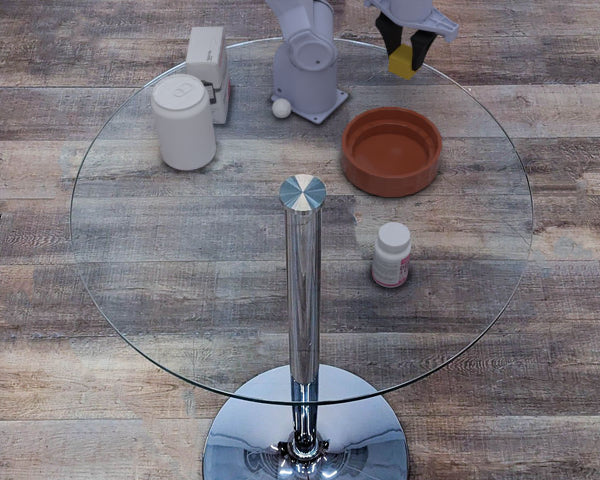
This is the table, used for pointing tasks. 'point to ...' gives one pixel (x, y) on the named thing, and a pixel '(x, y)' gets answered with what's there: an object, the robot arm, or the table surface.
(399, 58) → the cube
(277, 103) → the white ball
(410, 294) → the table surface
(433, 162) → the bowl
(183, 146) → the beverage can
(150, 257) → the table surface
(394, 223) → the pill bottle
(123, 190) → the table surface
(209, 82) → the ink box
